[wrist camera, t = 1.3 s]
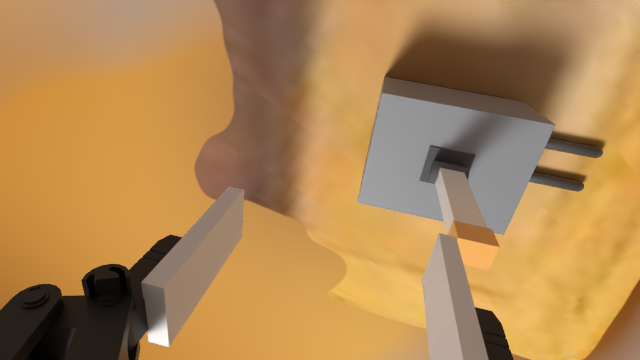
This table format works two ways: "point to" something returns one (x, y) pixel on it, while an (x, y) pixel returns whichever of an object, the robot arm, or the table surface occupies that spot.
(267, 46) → the table surface
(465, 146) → the grey power plug
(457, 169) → the breaker lever
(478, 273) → the table surface
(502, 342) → the robot arm
